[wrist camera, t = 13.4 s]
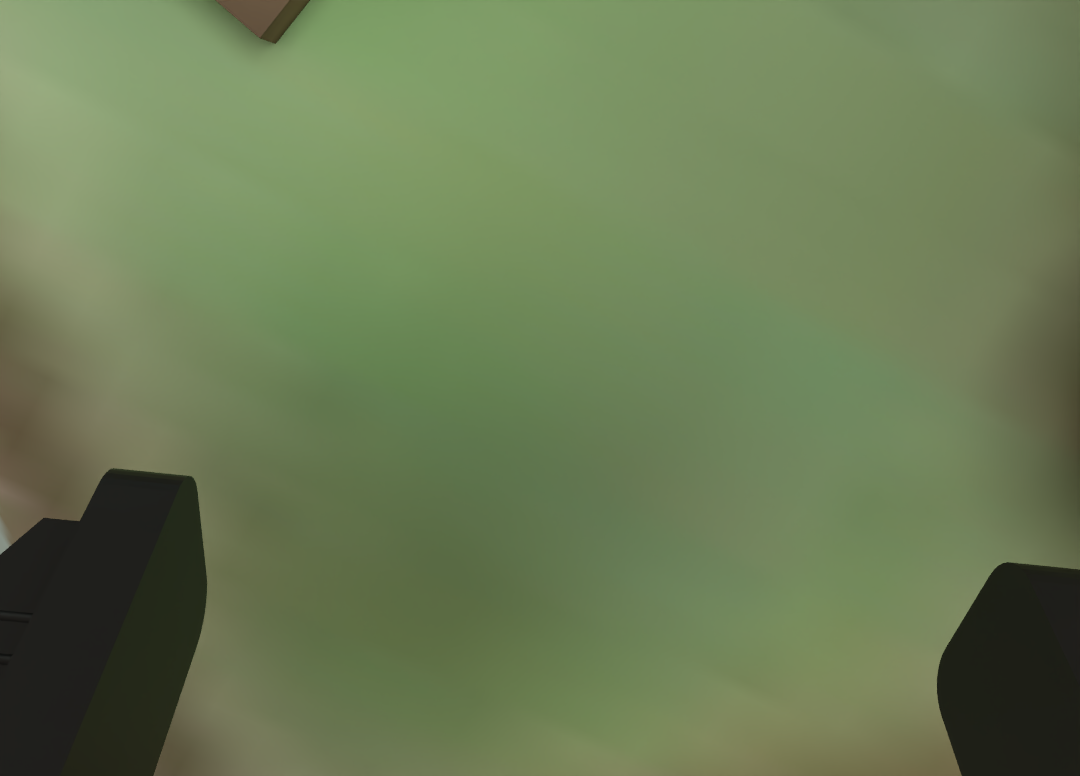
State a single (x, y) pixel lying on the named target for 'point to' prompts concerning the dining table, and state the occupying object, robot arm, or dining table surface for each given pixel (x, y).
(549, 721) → the dining table surface
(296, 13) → the walnut board
